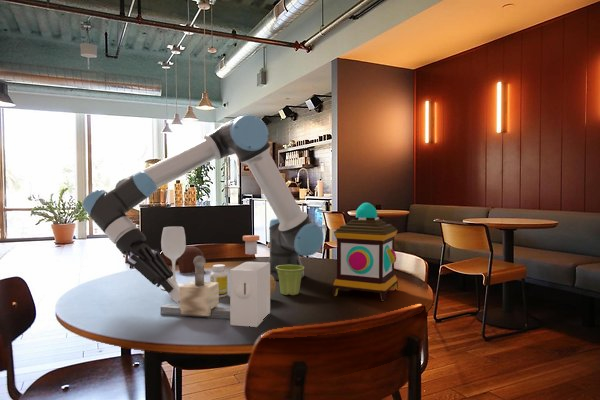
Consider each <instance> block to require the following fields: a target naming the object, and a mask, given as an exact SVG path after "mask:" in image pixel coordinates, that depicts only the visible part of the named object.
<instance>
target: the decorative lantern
mask: <svg viewBox="0 0 600 400" xmlns="http://www.w3.org/2000/svg"><path fill="white" fill-rule="evenodd" d="M397 233H398V229H397V228H396V227H395V226H393V225H392V224H391V223H387V222H386V221H383V219H381V217H380V216H378V212H377V209H376V207H375V206H374V205H373V204H371V203H370V202H363V203H361V204H360V205H359V206H358V208H357V209H356V211H355V216H354V217H352V219H350V220H349V222H347V223H346V224H343V225H340V226H339V227H338V228H336V229H335V231H333V234H334V237H335V239H336V278H335V280H334V282H333V285H332V295H333V296H334V297H336V296H338V292H339V289H345V290H354V291H362V292H368V293H369V292H372V293H378V294H379V295H380V299H381V301H382V300H385V301H386V299H387V293H388V292H389V291H390V289H393V288H397V289H398V288H399V280H398V278H397V276H396V274H395V263H396V261H397V254H396V252H395V239H396V235H397Z"/></svg>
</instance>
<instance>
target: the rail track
mask: <svg viewBox="0 0 600 400" xmlns="http://www.w3.org/2000/svg"><path fill="white" fill-rule="evenodd" d="M159 309H160V315H168V316H180V317H193V318H195V317H196V318H209V319H223V320H230V307H220V306H218V307H214V308H212V309H211V315H210V316H202V315H188V314H181V310H180V304H176V303H175V304H172V303H166V304H163V305H161V306H160V308H159Z"/></svg>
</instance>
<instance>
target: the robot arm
mask: <svg viewBox="0 0 600 400" xmlns="http://www.w3.org/2000/svg"><path fill="white" fill-rule="evenodd" d="M271 147H272V146H271V144H270V142H269V129H268V126H267V125H266V123H265V122H264V121H263V119H261V118H260V117H258V116H257V115H252V114H246V115H244V114H243V115H240V116H237V117H236V118H233V119H231V120H228V121H226V122H225V123H223V124H222V125H220V126H219V127H218V128H216V129H215V130H212V131H211V132H209V133H207V134H205V135H204V137H203V139H202V140H200V141H198V142H196V143H194V144H192V145H190V146H188V147H186V148H184V149H182V150H180V151H178V152H176V153H174V154H171V155H170V156H168V157H167V158H163V159H162V160H160V161H158V162H156V163H154V164H152V165H150V166H148V167H146V168H144V169H142V170H140V171H138V172H136V173H135V174H132V175H130V176H128V177H126V178H123V179H121V180H118V182H117V183H116V184H115V187H114V189H111V190H110V191H106V190H104V189H97V190H95V191H92V192H90V193H89V194H87V195H86V197H84V200H83V201H82V208H83V210H84V211H85V212H86V213H87V215H88V216H89V218H90V219H91V220H92V221H93V222H94V223H95V225H97V226H98V228H100V230H101V231H102V232H103V233H104V234H105V235H106V236H107V237H108V239H109V241H111V242H112V243H113V244H114V245H115V246H116V249H118V251H119V252H120V253H121V254H122V255H124V256H128V257H129V258H128V259H126V263H127V264H128V265H130V266H131V267H132V268H134V269H135V270H136V271H138V272H139V273H140V274H141V275H142V276H143V277H144V278H145V279H146V280H148V281H149V282H150V283H151V284H152V285H154V286H156V287H157V288H159V287H163V288H164V289H165V290H164V291H166V293H168V295H169V296H170V297H171V298H172V299H173V301H175V302H176V303H175V304H179V303H180V288H179V286H178V285H177V284H176V283H175V282H174V281H173V280H172V276H173V272H172V268H170V266H169V265H168V264H167V262H166V260H165V259H164V257H163V256H162V254H161V251H160V250H159V248H155V249H152V247H150V245H148V244H147V243H146V240H147V237H146V235H145V234H144V233H143V232H142V231H141V230H140V229H139V228H137V227H138V226H137V225H136V224H135V222H134V221H132V219H130V217H129V216H128V215H127V213H128V212H129V211H131V210H132V209H133V208H135V207H136V206H138V205H140V204H141V203H142V202H143V201H145V200H146V199H148V198H150V197H151V195H154V194H155V193H156V192H157V190H158V189H160V188H161V187H163V186H165V185H167V184H169V183H170V182H173V181H175V180H176V179H179V178H181V177H182V176H185V175H186V174H188V173H190V172H192V171H194V170H196V169H198V168H200V167H201V166H203V165H205V164H207V163H209V162H211V161H213V160H216V161H219V160H222V159H223V158H225V157H228V156H232V155H236V157H237V158H238V160H239V162H240V163H241V164H244V165H247V167H248V169H249V170H250V172H251V174H252V176H253V177H254V179H255V182H256V183H257V184H258V186H259V188H260V190H261V192H262V193H263V196H264V198H266V200H267V202H268V204H269V206H270V207H271V210H272V211H273V213H274V215H275V216H276V217H275V218H272V219H270V221H269V227H268V229H269V258H268V261H267V262H268V263H270V275H272V276H273V277H274V279H275V281H279V276H278V273H277V269H276V266H279V265H300V266H303V264H302V262H301V261H302V260H301V258H300V256H303V257H305V256H307V257H310V256H313V255H315V254H316V253H317V252H319V250H320V249H321V247H322V246H323V242H324V233H323V230H322V228H321V227H320V226H319V225H318V224H316V223H313V221H312V219H311V218H310V217H309V215H308V213H307V212H306V211H302V210H301V209H300V207H299V205H298V203H297V201H296V199H295V197H294V195H293V194H292V192H291V190H290V189H289V187H288V184H287V182H286V181H285V179H284V178H283V176H282V173H281V172H280V170H279V169H278V166H277V165H276V162H275V160H274V159H273V157H272V155H271V152H270V151H271ZM304 270H305V269H303V273H302V276H301V279H302V278H304V276H305V272H304Z"/></svg>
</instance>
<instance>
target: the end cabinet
mask: <svg viewBox="0 0 600 400" xmlns="http://www.w3.org/2000/svg"><path fill="white" fill-rule="evenodd" d="M229 270H230V271H229V275H230V276H229V287H230V288H229V292H230V293H229V294H230V295H229V299H230V301H229V302H230V303H229V304H230V305H229V308H230V319H229V320H230V322H229V324H230V326H238V327H249V326H250V328H251V327H254V328H258V327H259V326H260V325H261V323H263V321H264V320H265V319H266V318H267V317H268V316H269V315H270V314H271V296H270V263H268V261H266V262H265V261H262V262H261V261H245V262H243V263H241V264H239V265H237V266H234V267H233V268H231V269H229ZM268 314H269V315H268ZM267 315H268V316H267ZM266 316H267V317H266ZM265 317H266V318H265ZM264 318H265V319H264ZM263 319H264V320H263Z"/></svg>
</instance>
